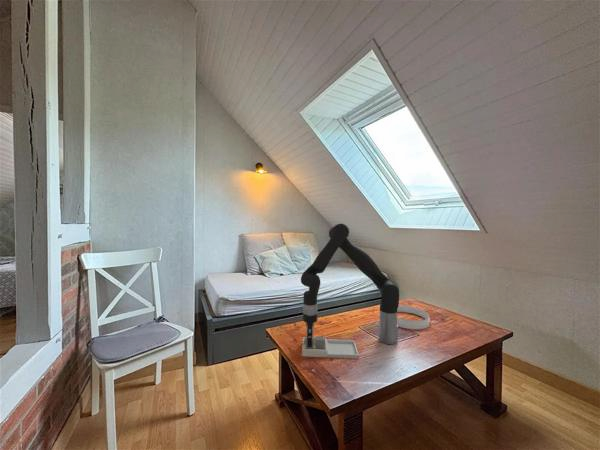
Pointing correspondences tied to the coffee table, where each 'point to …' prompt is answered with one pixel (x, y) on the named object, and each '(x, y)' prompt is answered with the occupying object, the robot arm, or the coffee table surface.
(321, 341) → the blue-grey block
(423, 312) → the white ring
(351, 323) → the coffee table surface
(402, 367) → the coffee table surface
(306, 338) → the light grey block
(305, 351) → the open box
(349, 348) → the parts tray
